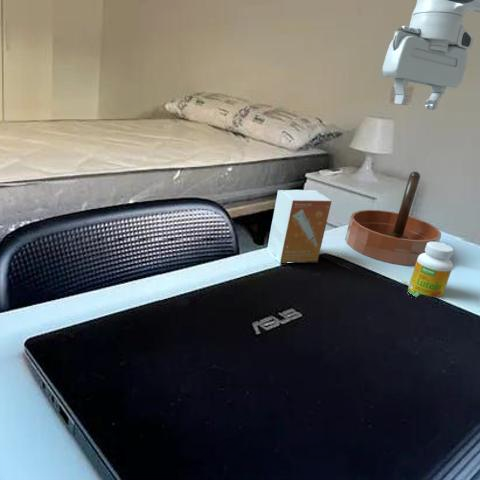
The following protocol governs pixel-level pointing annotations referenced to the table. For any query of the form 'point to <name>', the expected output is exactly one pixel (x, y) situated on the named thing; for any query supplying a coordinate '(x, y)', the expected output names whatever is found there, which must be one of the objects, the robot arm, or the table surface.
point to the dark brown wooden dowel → (405, 206)
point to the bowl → (387, 247)
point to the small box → (298, 225)
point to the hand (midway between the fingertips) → (415, 106)
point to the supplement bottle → (431, 270)
